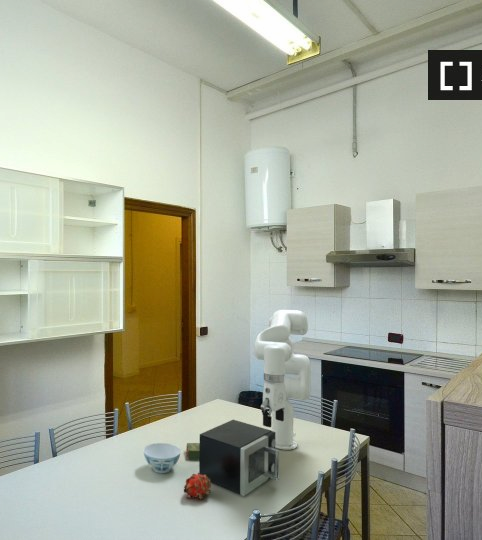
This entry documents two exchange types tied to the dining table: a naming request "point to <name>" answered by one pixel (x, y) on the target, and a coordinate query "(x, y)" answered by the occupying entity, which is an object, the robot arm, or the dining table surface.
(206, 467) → the microwave
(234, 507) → the dining table surface
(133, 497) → the dining table surface
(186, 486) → the dragon fruit
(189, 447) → the carton
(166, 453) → the chinaware
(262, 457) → the microwave door
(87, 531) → the dining table surface
